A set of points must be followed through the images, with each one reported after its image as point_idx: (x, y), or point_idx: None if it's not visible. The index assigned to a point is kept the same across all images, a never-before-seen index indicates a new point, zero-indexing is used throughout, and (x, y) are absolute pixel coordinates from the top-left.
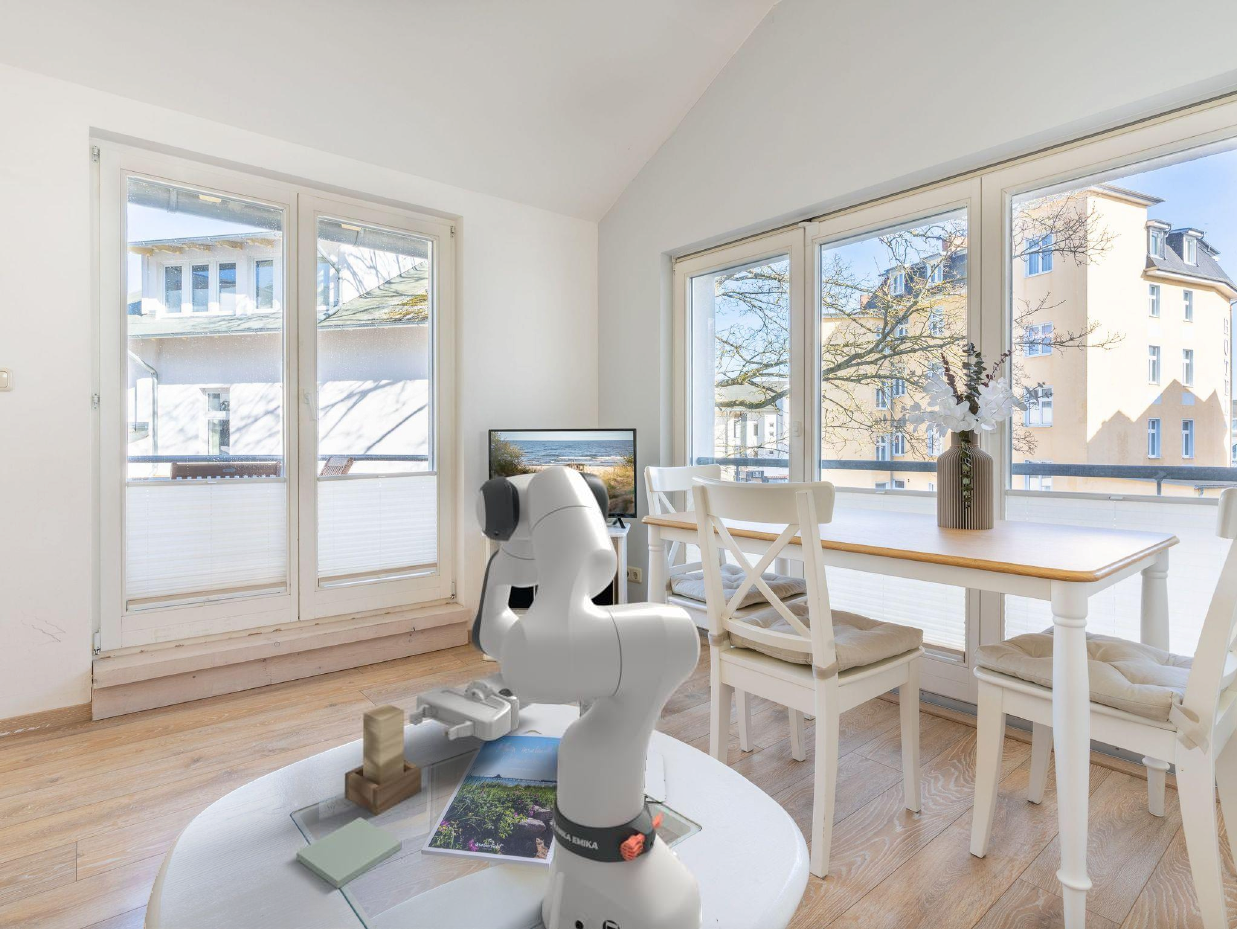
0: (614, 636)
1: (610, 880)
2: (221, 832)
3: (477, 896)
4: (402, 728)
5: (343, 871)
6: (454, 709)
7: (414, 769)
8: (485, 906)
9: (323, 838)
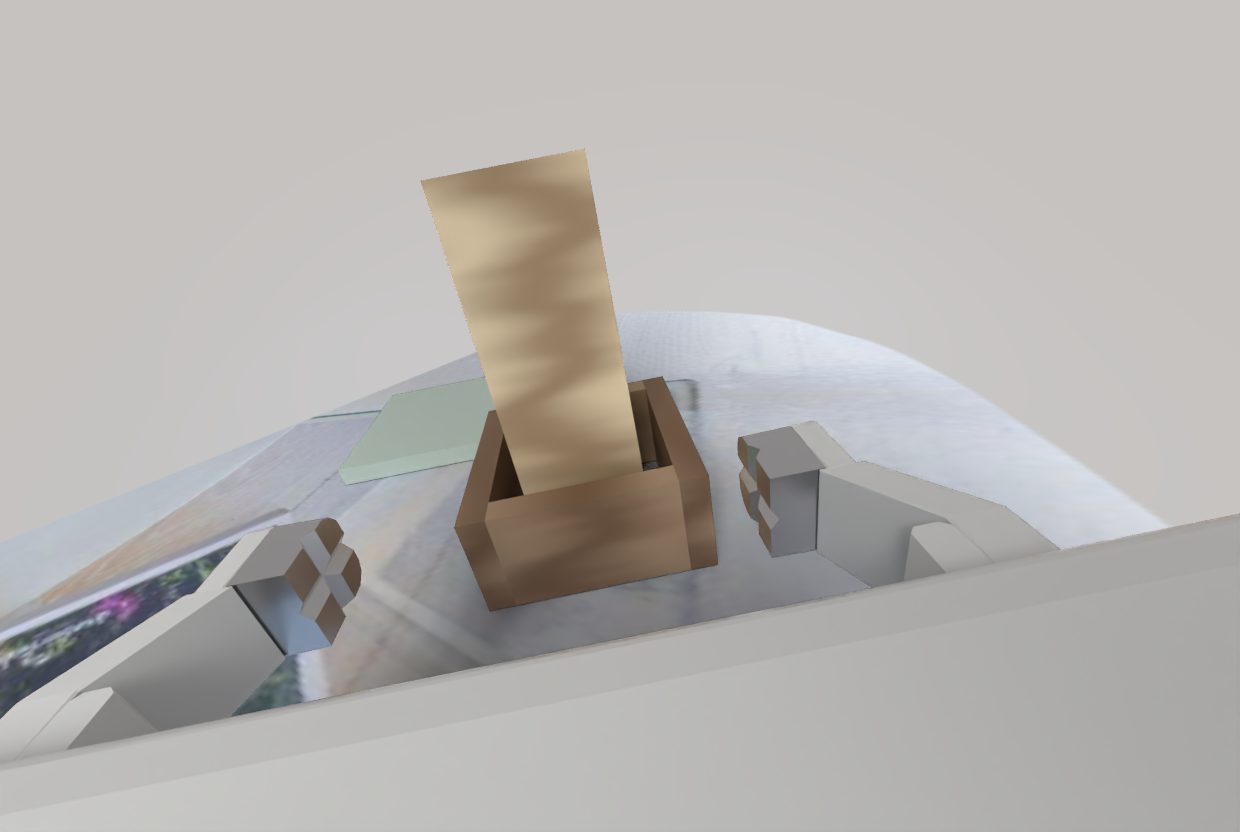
0: None
1: None
2: (710, 330)
3: (71, 538)
4: (458, 287)
5: (401, 401)
6: (384, 691)
7: (472, 505)
8: (44, 538)
9: None
